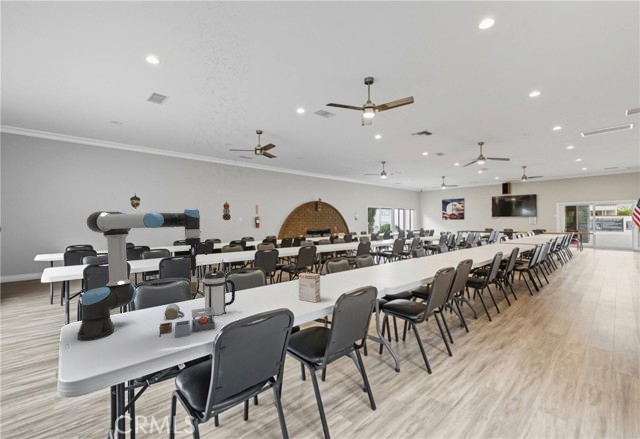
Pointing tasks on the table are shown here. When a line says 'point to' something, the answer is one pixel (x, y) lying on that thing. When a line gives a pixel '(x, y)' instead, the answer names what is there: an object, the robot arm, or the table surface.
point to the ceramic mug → (173, 311)
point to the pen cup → (182, 328)
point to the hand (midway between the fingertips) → (193, 281)
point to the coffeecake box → (309, 287)
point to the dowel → (193, 287)
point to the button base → (203, 326)
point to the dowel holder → (165, 328)
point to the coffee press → (216, 291)
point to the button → (202, 319)
